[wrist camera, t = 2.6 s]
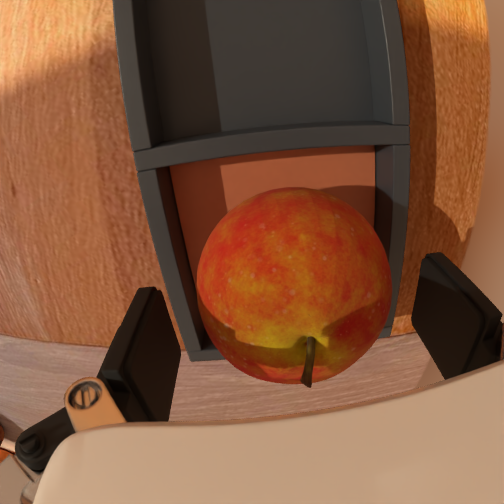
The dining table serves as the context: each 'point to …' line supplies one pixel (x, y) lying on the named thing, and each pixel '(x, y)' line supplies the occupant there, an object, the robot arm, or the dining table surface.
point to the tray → (262, 121)
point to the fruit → (293, 286)
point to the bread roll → (1, 435)
